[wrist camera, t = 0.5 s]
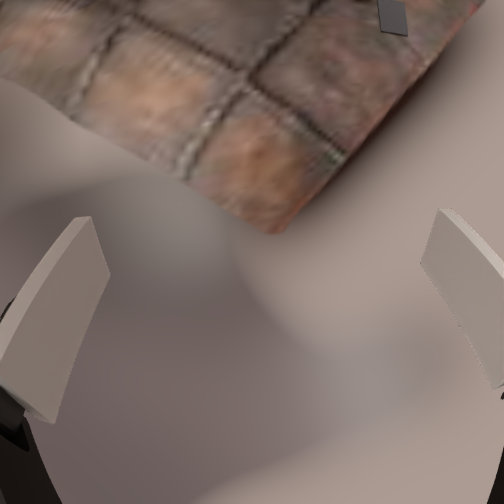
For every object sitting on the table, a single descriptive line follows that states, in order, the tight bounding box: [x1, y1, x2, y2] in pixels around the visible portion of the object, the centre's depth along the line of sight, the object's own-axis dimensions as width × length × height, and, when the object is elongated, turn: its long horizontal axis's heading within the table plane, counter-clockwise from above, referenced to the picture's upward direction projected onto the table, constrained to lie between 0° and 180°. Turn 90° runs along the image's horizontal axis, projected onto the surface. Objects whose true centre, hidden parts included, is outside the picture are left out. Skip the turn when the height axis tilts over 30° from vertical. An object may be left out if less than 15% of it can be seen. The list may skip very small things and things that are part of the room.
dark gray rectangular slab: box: [377, 0, 408, 36], centre depth 23 cm, size 5×4×1 cm
